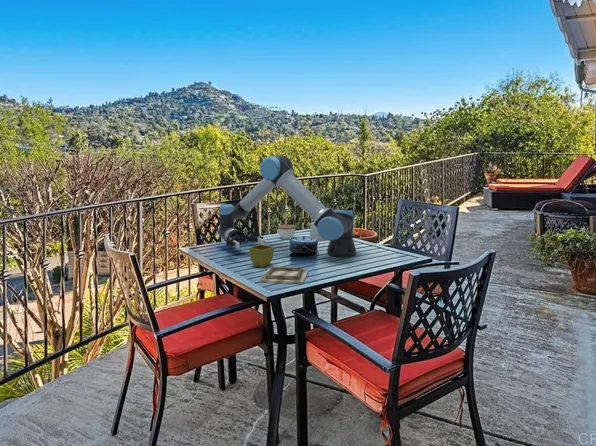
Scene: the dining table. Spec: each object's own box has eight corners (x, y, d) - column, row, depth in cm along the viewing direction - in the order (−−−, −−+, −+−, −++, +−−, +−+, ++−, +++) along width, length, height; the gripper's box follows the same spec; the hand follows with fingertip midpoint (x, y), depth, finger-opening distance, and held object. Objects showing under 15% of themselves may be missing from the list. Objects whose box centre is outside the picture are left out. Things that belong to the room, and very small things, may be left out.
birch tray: (308, 272, 200) (308, 266, 200) (302, 284, 182) (302, 278, 182) (268, 270, 203) (268, 265, 202) (259, 282, 185) (259, 276, 185)
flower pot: (275, 264, 212) (274, 246, 211) (264, 269, 205) (263, 250, 204) (260, 262, 217) (259, 244, 216) (248, 266, 210) (248, 247, 208)
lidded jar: (293, 240, 266) (293, 225, 265) (276, 240, 268) (275, 224, 267) (297, 237, 276) (297, 222, 275) (280, 236, 279) (280, 221, 277)
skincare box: (317, 241, 264) (317, 224, 262) (309, 240, 268) (309, 222, 266) (329, 238, 271) (329, 221, 269) (321, 237, 275) (321, 220, 274)
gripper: (255, 240, 243) (274, 248, 225) (212, 246, 230) (228, 254, 212) (255, 227, 242) (274, 234, 224) (211, 231, 229) (227, 239, 211)
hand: (252, 244), depth 218 cm, fingers open, 13 cm apart
